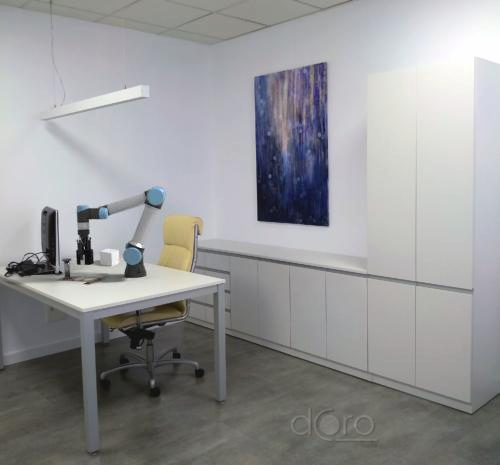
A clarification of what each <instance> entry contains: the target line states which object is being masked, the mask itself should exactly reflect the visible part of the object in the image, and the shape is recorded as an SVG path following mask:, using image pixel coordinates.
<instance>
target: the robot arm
mask: <svg viewBox="0 0 500 465" xmlns="http://www.w3.org/2000/svg"><path fill="white" fill-rule="evenodd" d="M166 196H167V194H166V191H165V189H164V188H163V187H161V186H157V185H156V186H152V187H151V188H149V189H148V190H145V191H143V192H142V193H139V194H136V195H133V196H130V197H126V198H124V199H120V200H117V201H113V202H111V203H107V204H104V205H100V206H98V207H90V206H89V204H79V205H76V226H77V235H78V236H79V237H78V238H77V239H76V243H77V244H76V245H77V249H76V250H78V255H80V260H81V265H80V266H86V265H85V255H84V249H92V237H91V236H89V235H90V234H91V232H90V231H91V230H90V227H91V226H90V220H107V219H108V218H109V216H112V215H116V214H118V213H121V212H122V213H123V212H125V211H128V210H132V209H135V208H137V207H140V206H144V208H143V211H142V213H141V214H140V215H141V216H140V219H139V221H138V224H137V226H136V228H135V231H134V233H133V236H132V239H131V240H129V241H128V242H126V243H125V247H124V248H125V250H124V251H123V253H122V257H123V260H124V262H125V264H126V265H125V269H124V272H123V274H124V275H123V276H124V277H125V278H142V277H146V276H148V275H147V270H146V267H145V264H144V262H145V261H144V252H145V249H146V246H145V243H146V241H147V238H148V236H149V233H150V231H151V228H152V227H153V226H152V225H153V223H154V222H155V218H156V215H157V213H158V212H159V211H160V210H161V209H162V207H163V204H164V202H165V200H166Z"/></svg>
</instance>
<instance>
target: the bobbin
mask: <svg viewBox="0 0 500 465" xmlns="http://www.w3.org/2000/svg"><path fill="white" fill-rule="evenodd" d="M71 261H72V258H70V257H69V258H61V262H63V270H64V273H63V274H64V276H63V277H62V278H63V279H72V276H73V275H71Z"/></svg>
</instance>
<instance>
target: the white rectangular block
mask: <svg viewBox="0 0 500 465" xmlns="http://www.w3.org/2000/svg"><path fill="white" fill-rule="evenodd" d="M99 260H100V261H99V262H100V265H102V266H107V267H114V266H116V265H118V264H119V263H120V250H119V249H114V248H103V249H102V250H100V251H99Z"/></svg>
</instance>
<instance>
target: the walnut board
mask: <svg viewBox="0 0 500 465" xmlns="http://www.w3.org/2000/svg"><path fill="white" fill-rule="evenodd" d="M71 276H72V279H63V277H60V278H57V279H56V281H58V282H59V281H60V282H62V281H63V282H81V283H82V284H83V285H93V284H95V283H98V282H101V281H103V280H104V277H99V276H80V275H79V276H77V275H71Z"/></svg>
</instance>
